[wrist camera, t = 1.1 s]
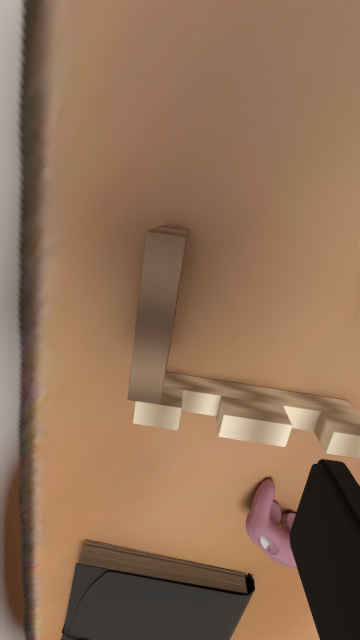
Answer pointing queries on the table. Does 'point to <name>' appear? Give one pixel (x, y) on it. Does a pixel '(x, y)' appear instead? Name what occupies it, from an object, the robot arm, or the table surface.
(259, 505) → the video game controller
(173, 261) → the walnut plate
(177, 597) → the file folder
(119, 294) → the table surface
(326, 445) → the wooden crenellated block
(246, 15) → the table surface
